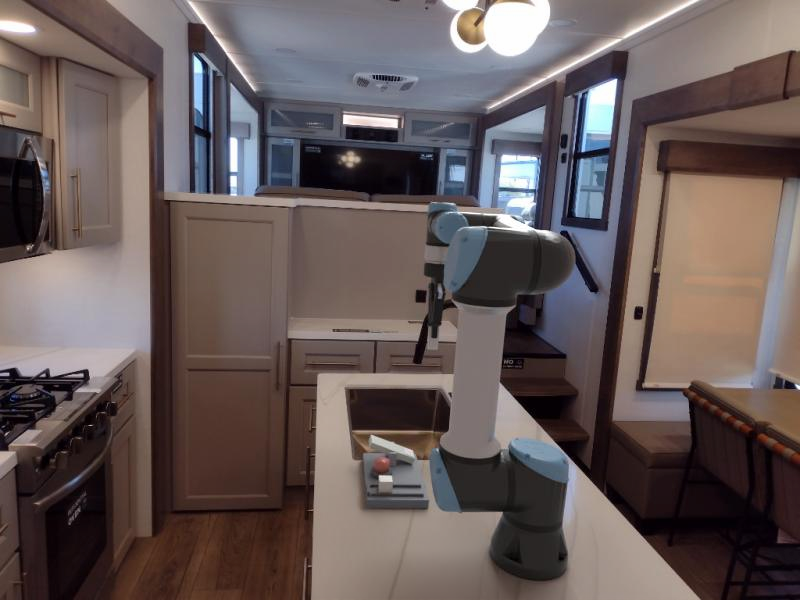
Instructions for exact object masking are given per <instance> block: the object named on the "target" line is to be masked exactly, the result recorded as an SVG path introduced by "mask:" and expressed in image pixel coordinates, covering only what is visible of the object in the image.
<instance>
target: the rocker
mask: <svg viewBox="0 0 800 600" xmlns="http://www.w3.org/2000/svg"><path fill="white" fill-rule="evenodd" d="M392 442H393V441H389V440H387V439H384V438H381V437H378V436H376V435H373V434H370V435H369V439H368V447H369V449H371V450H373V451H376V452H377V453H384V454H386V455H389V452H397V459H400V460H402V461H405V462H408V463H410V464H413V462H414V460H415V457H414V454H415V453H414V450H413V449H410V448H407V447H405V446H402V445H400V444H397V443H395V442H394V443H392Z"/></svg>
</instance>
